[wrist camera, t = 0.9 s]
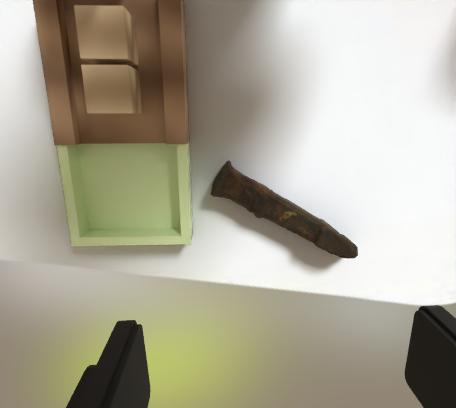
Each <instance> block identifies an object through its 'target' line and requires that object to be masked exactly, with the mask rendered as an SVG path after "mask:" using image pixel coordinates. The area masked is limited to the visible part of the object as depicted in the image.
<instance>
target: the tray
mask: <svg viewBox="0 0 456 408" xmlns="http://www.w3.org/2000/svg"><path fill="white" fill-rule="evenodd" d="M57 152H58V159H59V165H60V172H61V178H62V185H63V192H64V198H65V205H66V211H67V218H68V224H69V231H70V238H71V244H72V246H120V245H175V244H191V239H192V234H193V230H192V203H191V176H190V149H189V142H188V143H187V144H166V143H111V144H78V145H57Z"/></svg>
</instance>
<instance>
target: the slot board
mask: <svg viewBox="0 0 456 408" xmlns="http://www.w3.org/2000/svg"><path fill="white" fill-rule="evenodd" d="M33 5H34V11H35V18H36V24H37V31H38V38H39V44H40V51H41V57H42V64H43V70H44V77H45V83H46V90H47V96H48V103H49V110H50V116H51V123H52V129H53V136H54V142H55V145H78V144H111V143H166V144H187V143H188V142H189V122H188V95H187V68H186V40H185V13H184V0H33ZM74 5H102V6H124V7H125V8H126V10H127V11H128V12H129V13H130V14H131V16H132V17H133V18H134V19H135V22H136V36H137V49H138V62H139V66H131V67H133V68H134V69H136V70H138V71H139V75H140V89H141V102H142V113H141V114H98V113H87V109H86V100H85V92H84V84H83V76H82V67H81V65H95V64H92V63H90V62H88V61H85V60H83V59H81V58H80V51H79V43H78V35H77V26H76V18H75V10H74Z"/></svg>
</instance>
